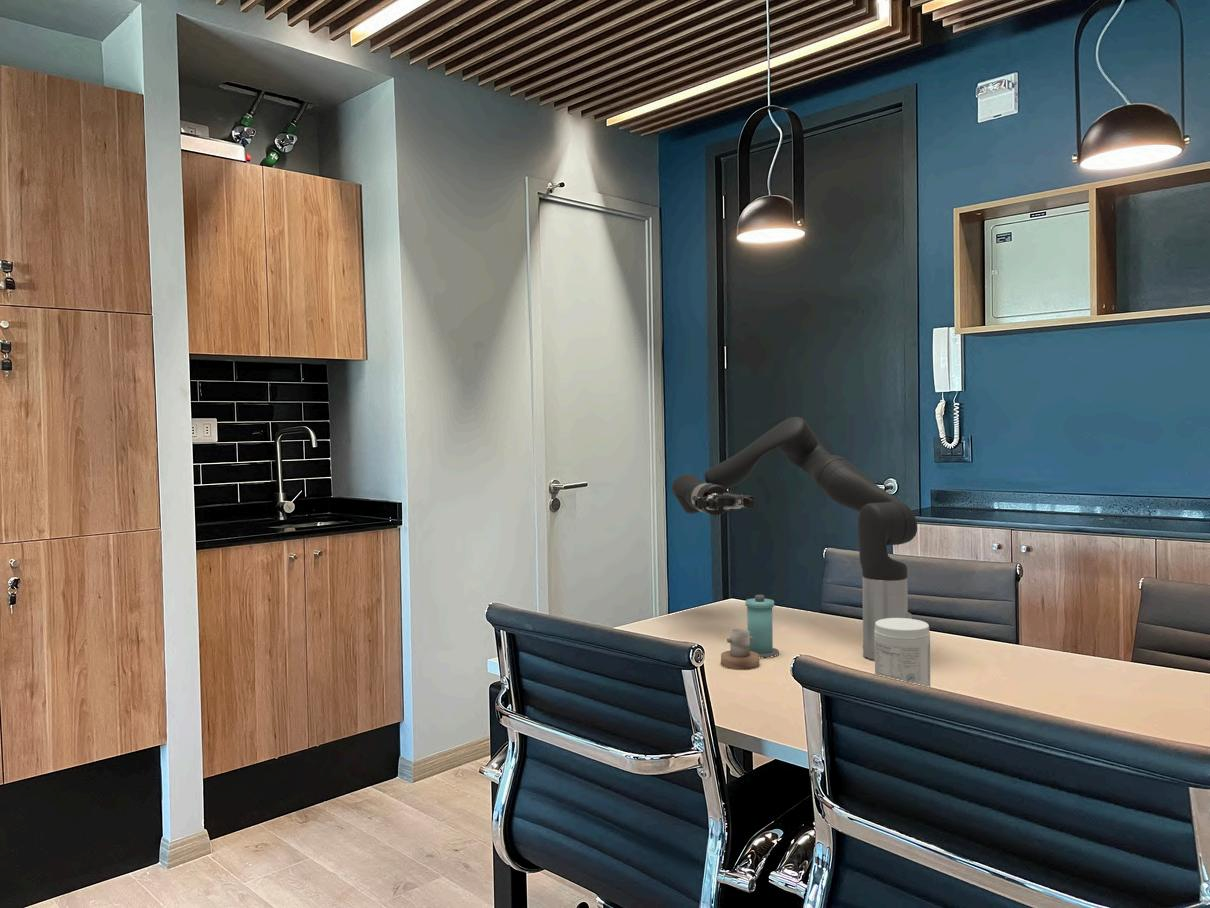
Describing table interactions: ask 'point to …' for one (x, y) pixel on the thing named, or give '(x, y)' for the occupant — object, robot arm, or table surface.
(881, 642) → the supplement tub
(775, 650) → the pad
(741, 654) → the post
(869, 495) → the robot arm
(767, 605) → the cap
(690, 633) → the table surface
